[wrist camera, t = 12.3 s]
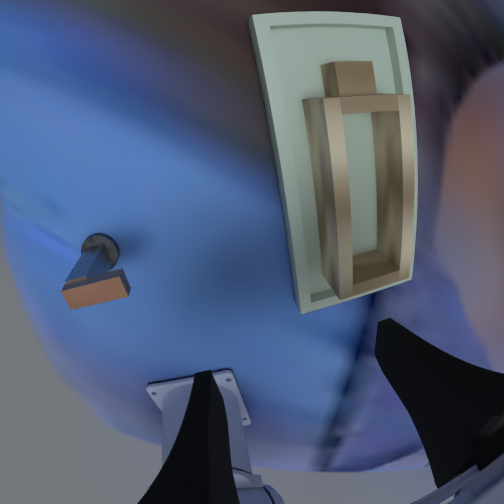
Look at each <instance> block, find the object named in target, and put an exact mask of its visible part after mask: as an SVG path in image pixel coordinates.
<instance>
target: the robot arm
mask: <svg viewBox="0 0 504 504" xmlns="http://www.w3.org/2000/svg"><path fill="white" fill-rule="evenodd" d="M374 354H375V357H376V359H377V361H378V363H379V365H380V367H381V369H382V371H383V373H384V375H385V376H386V378H387V379H388V381H389V383H390V384H391V386H392V387H393V389H394V390H395V392H396V393H397V395H398V396H399V398H400V400H401V401H402V403H403V404H404V406H405V407H406V409H407V411H408V413H409V414H410V416H411V418H412V421H413V423H414V425H415V427H416V429H417V431H418V434H419V436H420V439H421V441H422V444H423V446H424V449H425V452H426V454H427V457H428V460H429V463H430V466H431V470H432V473H433V477H434V481H435V484H436V486H437V488H438V489H437V490H435V491H433V492H432V493H430V494H428V495H426V496H425V497H423V498H421V499H419V500H417V501H415V502H413V503H411V504H439V503H441V502H442V501H444V500H446V499H447V498H449V497H451V496H452V495H454V494H455V493H456V494H455V495H454V499H453V500H452V501H450V502H449V503H447V504H504V374H503V373H499V372H494V371H491V370H487V369H484V368H481V367H478V366H475V365H472V364H470V363H467V362H465V361H463V360H460V359H458V358H456V357H454V356H452V355H450V354H448V353H446V352H444V351H442V350H440V349H438V348H437V347H435V346H433V345H431V344H430V343H428V342H426V341H425V340H423V339H422V338H420V337H418V336H417V335H415V334H414V333H412V332H411V331H409V330H408V329H406V328H405V327H403V326H402V325H400V324H399V323H397V322H396V321H394V320H393V319H391V318H388V319H385V320H383V321H380V322H378V327H377V336H376V344H375V352H374ZM227 378H229V379H227ZM146 390H147V392H148V393H149V395H150V396H151V398H152V399H153V401H154V402H155V403H156V405H157V406H158V407H159V409H160V410H161V412H162V469H161V470H160V472H159V474H158V475H157V477H156V479H155V480H154V481H153V483H152V484H151V485H150V486H149V487H148V488H147V492H146V493H145V495H144V496H143V497H142V499H141V500H140V501H139V502H138V503H137V504H285V503H284V501H283V499H282V497H281V496H280V495H279V494H278V493H277V491H276V490H275V489H274V488H273V487H271V486H269V485H263V483H262V478H261V475H254V474H252V469H251V465H250V460H249V455H248V450H247V445H246V440H245V435H244V430H243V426H246V425H249V424H251V419H250V417H249V414H248V412H247V409H246V406H245V404H244V401H243V399H242V396H241V393H240V391H239V388H238V386H237V383H236V380H235V378H234V375H233V372H232V371H230V370H224V371H219V372H214V373H212V372H211V370H208V371H203V372H198V373H196V374H195V375H194V377H190V378H184V379H179V380H173V381H167V382H161V383H155V384H149V385H147V387H146Z"/></svg>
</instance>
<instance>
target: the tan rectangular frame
mask: <svg viewBox="0 0 504 504" xmlns="http://www.w3.org/2000/svg"><path fill="white" fill-rule="evenodd" d="M320 67H321V73H322V79H323V85H324V91H325V97H318V98H308V99H302V104H303V110H304V116H305V123H306V129H307V136H308V143H309V150H310V158H311V166H312V173H313V182H314V190H315V199H316V209H317V218H318V229H319V240H320V251H321V264H322V275H323V277H324V278H325V279H326V281H327V282H328V284H329V285H330V287H331V288H332V290H333V291H334V292H335V294H336V295H337V297H338V298H339V300H342V299H346V298H349V297H352V296H355V295H359V294H362V293H365V292H368V291H371V290H374V289H377V288H380V287H383V286H386V285H389V284H392V283H395V282H398V281H401V280H404V279H407V278H409V274H410V264H411V253H412V241H413V224H414V193H415V170H414V140H413V124H412V111H411V101H410V94H386V93H377V90H376V83H375V76H374V70H373V64H372V61H334V62H330V63H326V64H323V65H320ZM365 112H371V121H372V131H373V142H374V155H375V172H376V195H377V249H375V250H371V251H368V252H364V253H361V254H357V255H353V256H352V226H351V206H350V190H349V177H348V165H347V154H346V145H345V136H344V127H343V119H342V114H353V113H365Z"/></svg>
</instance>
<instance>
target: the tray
mask: <svg viewBox="0 0 504 504" xmlns="http://www.w3.org/2000/svg"><path fill="white" fill-rule="evenodd" d="M248 26H249V30H250V35H251V40H252V44H253V49H254V54H255V59H256V64H257V69H258V74H259V79H260V84H261V89H262V95H263V100H264V105H265V111H266V116H267V122H268V127H269V133H270V138H271V144H272V150H273V156H274V162H275V167H276V174H277V180H278V186H279V192H280V198H281V205H282V211H283V218H284V224H285V231H286V238H287V245H288V252H289V259H290V266H291V273H292V281H293V288H294V296H295V303H296V305H297V307H298V309H299V311H300V313H301V314H305V313H308V312H312V311H315V310H318V309H322V308H325V307H329V306H332V305H335V304H339V303H342V302H345V301H348V300H351V299H355V298H358V297H361V296H364V295H367V294H370V293H373V292H376V291H379V290H382V289H385V288H388V287H391V286H394V285H397V284H400V283H403V282H405V281H408V280H411V279H412V271H413V262H414V251H415V239H416V222H417V194H418V166H417V138H416V122H415V110H414V99H413V90H412V82H411V75H410V68H409V61H408V55H407V50H406V44H405V39H404V34H403V29H402V24H401V20H400V18H399V17H392V16H384V15H375V14H364V13H349V12H283V13H268V14H257V15H252V16H251V18H250V19H249V21H248ZM334 61H372V64H373V70H374V76H375V83H376V90H377V93H386V94H410V101H411V111H412V124H413V140H414V170H415V193H414V224H413V241H412V253H411V264H410V274H409V278H407V279H404V280H401V281H398V282H395V283H392V284H389V285H386V286H383V287H380V288H377V289H374V290H371V291H368V292H365V293H362V294H359V295H355V296H352V297H349V298H346V299H342V300H339V298H338V297H337V295H336V294H335V292H334V291H333V290H332V288H331V287H330V285H329V284H328V282H327V281H326V279H325V278H324V277H323V275H322V264H321V251H320V240H319V229H318V218H317V209H316V199H315V190H314V182H313V173H312V166H311V158H310V150H309V143H308V136H307V129H306V123H305V116H304V110H303V104H302V99H308V98H318V97H325V91H324V85H323V79H322V73H321V67H320V65H323V64H326V63H330V62H334ZM342 119H343V127H344V136H345V145H346V154H347V165H348V177H349V190H350V206H351V226H352V256H353V255H357V254H361V253H364V252H368V251H371V250H375V249H377V195H376V172H375V155H374V142H373V131H372V121H371V112H365V113H353V114H342Z"/></svg>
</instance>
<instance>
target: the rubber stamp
mask: <svg viewBox="0 0 504 504" xmlns="http://www.w3.org/2000/svg"><path fill="white" fill-rule="evenodd" d="M81 253H82V255H81V257H80V258H79V260H78V261H77V263H76V265H75V266H74V268H73V269H72V271H71V273H70V274H69V276H68V277H67V279H66V281H65V283H66V284H65V285H64V287H63V289H62V290H61V292H62V294H63V296H64V298H65V300H66V302H67V304H68V305H69V307H70V309H71V310H72V309H76V308H81V307H85V306H90V305H94V304H98V303H103V302H107V301H111V300H116V299H120V298H124V297H128V296H129V293H130V289H131V287H130V285H129V282H128V280H127V278H126V275H125V273H124V271H123V268H122V269H118V270H114V271H110V272H108V271H109V270H111V269H112V268H113V267H114V266H115V265H116V263H117V260H118V258H119V249H118V246H117V244H116V243H115V241H114V240H113V239H112V238H110V237H109V236H107V235H105V234H99V233H98V234H93V235H91V236H89V237H88V238H87V239H86V240H85V242H84V243H83V245H82V249H81Z"/></svg>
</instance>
